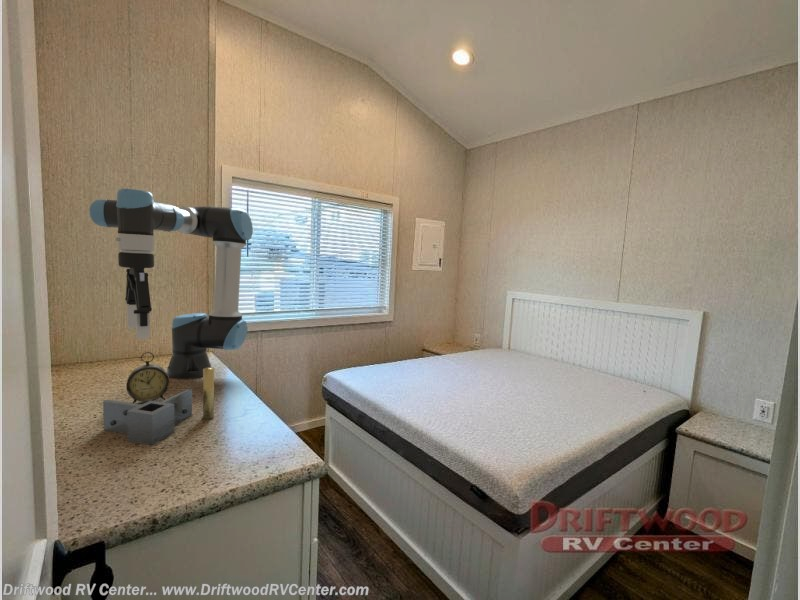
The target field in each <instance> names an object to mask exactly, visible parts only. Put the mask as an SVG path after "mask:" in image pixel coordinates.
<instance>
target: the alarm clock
mask: <svg viewBox="0 0 800 600" xmlns="http://www.w3.org/2000/svg"><path fill="white" fill-rule="evenodd" d="M145 354H151V356H152V358H151V360H146V361H145V360H144V359H143V356H144V355H145ZM140 358H141V361H142V362H143V363H145V364H143V365H141V366H138V367H137V368H134V370H133V371H132V372H130V374H129V375H128V377H127V380H126V387H125V388H126V392H127V394H128V395H129V397H131V398H132V399H133V401H132V403H134V404H136V403H137V402H142V403H146V402H148V401H150V400H151V401H157V399H159V398H161V399H162V401H163V400H166V399H167V398H165V397H164V394H165V393H166V392H167V390H168V388H169V386H170V380H169V379H170V377H169V376H168V374H167V370H166V369H165V368H163V367H161V366H160V365H157V364H150V363H151V362H153V360H154V359H155V355H154V354H153V352H151V351H146V352H143V353H142V354H141V356H140Z"/></svg>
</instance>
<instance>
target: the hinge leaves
mask: <svg viewBox="0 0 800 600" xmlns="http://www.w3.org/2000/svg"><path fill="white" fill-rule="evenodd" d="M165 399H166V400H163V399H162V401H157V400H153V401H151V400H150V401H148V402H143V403H141V404H140V403H133V402H126V401H119V400H113V399H106V400H103V401H102V406H103V407H102V408H103V409H102V410H103V430H104V431H109V432H114V433H119V434H126V435H127V441H128V442H131V443H136V444H142V445H149V446H154V445H156V444H158V443H159V442H161V441H162V440H164V439H166V438H168V437H169V436H171V435H172V434H174V433H175V426H176V425H178V424H179V423H181V422H183V421H185V420H186V419H188V418H189V417H191V416H193V389H192V388H186V389H185V390H183V391H181V392H178V393H176V394H174V395H172V396H170V397H168V398H165Z"/></svg>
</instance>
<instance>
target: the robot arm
mask: <svg viewBox="0 0 800 600" xmlns="http://www.w3.org/2000/svg"><path fill="white" fill-rule="evenodd" d="M88 211H89V217H90V218H91V221H92V222H93V223H94V224H96V226H100V227H104V228H105V227H106V228H117V236H118V237H114V241H115V242H118V243H117V245H118V247H117V248H118V250H120V251H119V252H118V253H117V254H118V255H117V256H118V259H117V261H118V266H119V267H121V268H126V270H125V271H126V282H125V283H126V284H125V286H126V287H125V288H126V289H125V298H124V300H125V301H126V314H127V315H126V318H127V319H126V321H127V326H126V327H127V329H128V330H129V329H136V330H135V331H136V332H135V335H136V336H135V337H136V340H145V339H147V340H148V339H151V325H150V321H151V320H150V318H151V316H150V313H151V312H152V309H153V307H152V304H151V294H150V287H149V286H150V285H149V273H148V272H145V269H152V268H154V266H155V254H154V253H152V252H154V251H155V235H154V231H162V232H163V231H164V232H175V231H177V232H178V233H181V234H185V235H186V234H189V235H193V236H198V237H204V238H209V239H210V238H212V244H214V246H215V247H216V253H215V254H216V256H215V260H216V261H215V276H214V277H215V279H214V293H213V294H214V297H213V298H214V299H213V300H214V301H213V310H212V311H211V312H210V313H208V315H207V313H205V312H196V313H186V314H181V315H177V316H175V317H173V319H172V323H171V324H172V325H171V330H172V331H171V340H172V341H171V345H172V346H171V347H172V354H171V358H170V359H169V360H170V361H169V363H168V367H166V368H167V370H166V372H167V374H168V378H172V379H194V378H199V377H203V368H206V367H212V364H211V362H210V358H209V355H208V353H207V352H208V351H207V349H213V350H214V349H215V350H224V351H229V350H230V351H234V350H238V349H240V348H241V347H242V346H243V344H244V343H245V340H246V338H247V334H248V327H249V326H248V323H247V321H245V320H243V314H242V313H241V312H240V311H239V301H240V283H241V282H240V281H241V261H242V249H243V248H244V247H246V245H247V241H249V240H251V239H252V236H253V231H254V230H253V228H254V227H253V223H252V219H251V217H250V215H249V213H248V212H247V211H246V210H245V209H243V208H237V207H225V206H224V207H221V206H219V207H218V206H209V205H208V206H207V205H206V206H179V207H177V206H175V205H171V204H170V203H163V202H162V203H161V202H155V200H154V197H153V194H152V192H150V191H147V190H142V189H133V188H121V189H118V190H117V193H116V200H115V199H109V198H106V199H95V200H93V202H92V203H91V204H90V205H89V210H88Z"/></svg>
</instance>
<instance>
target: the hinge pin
mask: <svg viewBox="0 0 800 600" xmlns="http://www.w3.org/2000/svg"><path fill="white" fill-rule="evenodd" d="M214 396H215V368H214V367H212V366H211V367H206V368H203V376H202V418H203V420H205V421H208V420H212V419H214V415H215V413H214V411H215V408H214V407H215V406H214V405H215V403H214V401H215V397H214Z"/></svg>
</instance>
